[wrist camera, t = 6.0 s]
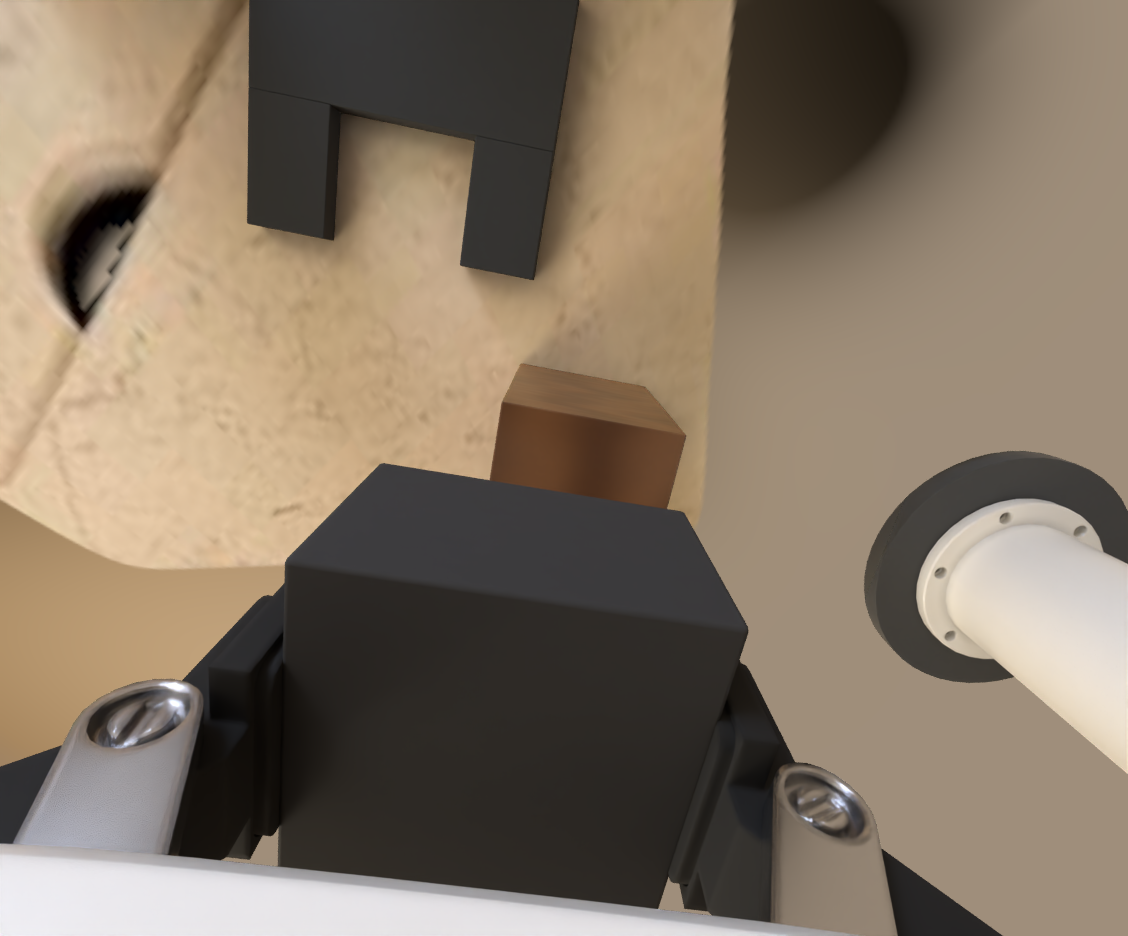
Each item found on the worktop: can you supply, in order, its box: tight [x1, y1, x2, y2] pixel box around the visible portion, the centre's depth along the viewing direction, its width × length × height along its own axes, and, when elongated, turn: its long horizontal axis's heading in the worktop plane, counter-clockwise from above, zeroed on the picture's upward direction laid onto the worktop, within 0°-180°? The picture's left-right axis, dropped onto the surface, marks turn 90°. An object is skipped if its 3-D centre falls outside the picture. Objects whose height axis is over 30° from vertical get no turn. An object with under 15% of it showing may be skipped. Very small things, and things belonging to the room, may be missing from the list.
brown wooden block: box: [490, 364, 686, 509], centre depth 30 cm, size 8×8×12 cm
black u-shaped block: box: [247, 0, 579, 280], centre depth 30 cm, size 16×14×2 cm
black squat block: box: [278, 463, 748, 909], centre depth 10 cm, size 6×6×4 cm
